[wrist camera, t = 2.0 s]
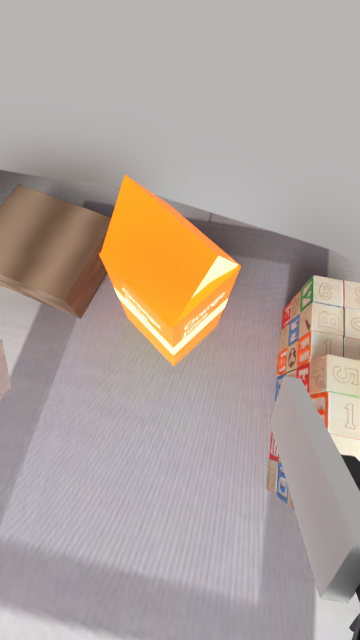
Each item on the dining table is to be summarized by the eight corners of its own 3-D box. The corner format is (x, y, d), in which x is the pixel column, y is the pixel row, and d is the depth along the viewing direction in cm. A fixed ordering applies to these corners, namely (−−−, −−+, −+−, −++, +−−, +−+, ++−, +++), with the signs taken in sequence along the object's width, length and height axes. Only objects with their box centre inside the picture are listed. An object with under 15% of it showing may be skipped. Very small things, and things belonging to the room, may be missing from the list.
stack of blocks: (281, 308, 37) (328, 256, 26) (329, 317, 37) (399, 269, 25) (265, 490, 30) (322, 532, 18) (325, 503, 29) (421, 555, 18)
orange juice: (173, 367, 34) (170, 297, 15) (126, 318, 36) (73, 204, 17) (217, 325, 36) (263, 218, 17) (170, 281, 38) (166, 143, 19)
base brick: (-9, 281, 38) (-42, 256, 32) (39, 216, 42) (18, 184, 36) (81, 319, 36) (64, 300, 31) (123, 247, 40) (114, 218, 35)
